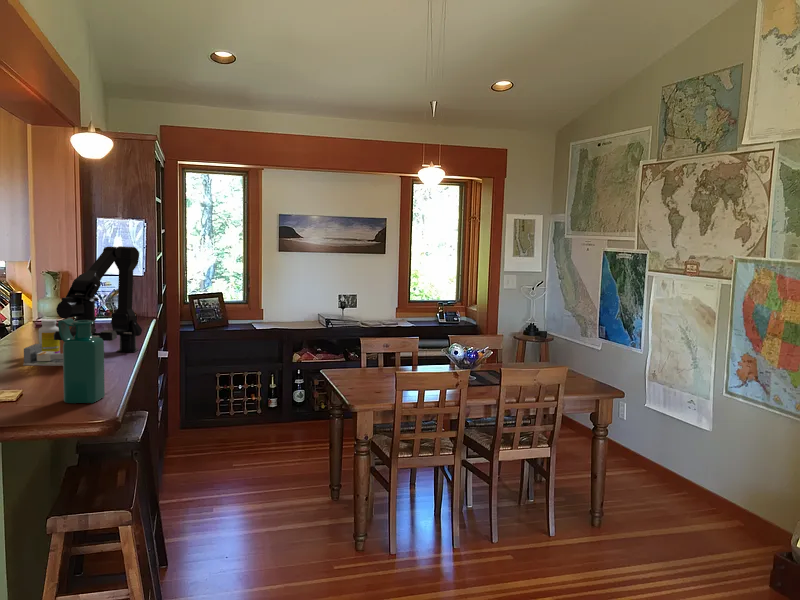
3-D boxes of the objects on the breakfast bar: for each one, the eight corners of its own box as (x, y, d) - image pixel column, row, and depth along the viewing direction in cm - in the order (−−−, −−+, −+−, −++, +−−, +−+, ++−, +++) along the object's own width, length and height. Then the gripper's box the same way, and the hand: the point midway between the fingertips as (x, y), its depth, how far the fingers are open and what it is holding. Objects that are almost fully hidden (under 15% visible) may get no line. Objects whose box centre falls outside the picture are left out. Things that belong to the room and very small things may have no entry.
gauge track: (36, 359, 216) (36, 343, 216) (79, 359, 218) (78, 344, 218) (23, 365, 206) (22, 348, 206) (68, 365, 208) (67, 349, 208)
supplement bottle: (63, 355, 224) (63, 320, 223) (44, 358, 219) (44, 322, 217) (54, 353, 228) (53, 318, 227) (35, 355, 222) (34, 320, 221)
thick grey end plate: (43, 358, 215) (43, 349, 214) (83, 358, 216) (83, 349, 216) (33, 362, 207) (33, 353, 207) (75, 363, 209) (75, 353, 208)
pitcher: (107, 396, 173) (106, 318, 171) (93, 404, 165) (92, 322, 162) (71, 395, 173) (70, 317, 170) (55, 403, 164) (54, 321, 162)
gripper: (46, 317, 203) (47, 364, 204) (106, 318, 205) (107, 365, 207) (60, 313, 214) (61, 357, 215) (117, 314, 216) (117, 358, 218)
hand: (86, 359), depth 214 cm, fingers closed
